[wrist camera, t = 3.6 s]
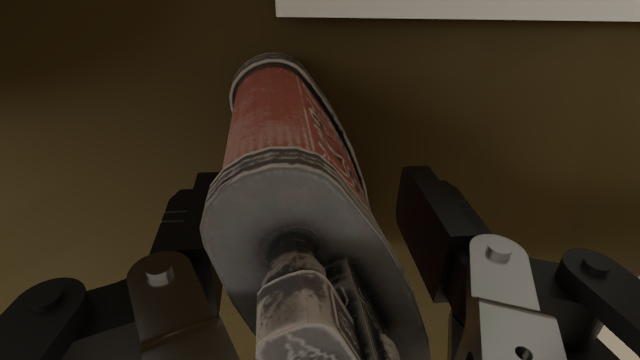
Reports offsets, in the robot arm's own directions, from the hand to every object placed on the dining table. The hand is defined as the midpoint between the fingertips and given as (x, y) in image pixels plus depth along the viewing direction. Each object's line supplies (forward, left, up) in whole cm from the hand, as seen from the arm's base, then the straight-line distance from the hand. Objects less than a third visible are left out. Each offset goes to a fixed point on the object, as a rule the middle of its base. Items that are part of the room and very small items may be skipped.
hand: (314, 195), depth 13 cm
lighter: (0, 0, -3) cm, 3 cm away
